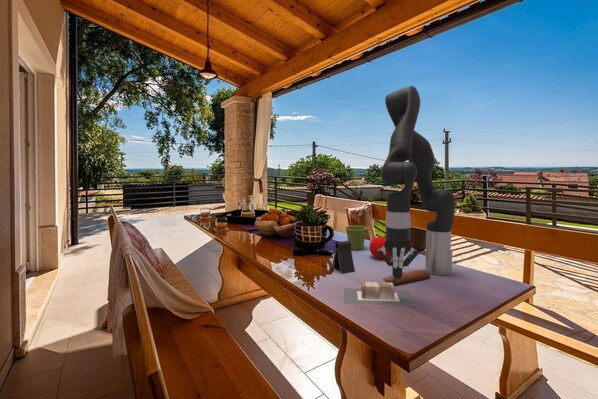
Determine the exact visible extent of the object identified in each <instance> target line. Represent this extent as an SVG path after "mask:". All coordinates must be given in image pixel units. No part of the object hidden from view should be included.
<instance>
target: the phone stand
mask: <svg viewBox="0 0 598 399" xmlns="http://www.w3.org/2000/svg"><path fill="white" fill-rule="evenodd" d="M334 249H335V250H334V254H333V259H332V265H331V267H332V269H334V270H335V271H337V272H339V273H340V274H347V273H353V272H354V273H355V271H356V269H355V263H354V259H353V253H352V249H351V242H350V241H348V240H343V241H336V242H335V244H334Z"/></svg>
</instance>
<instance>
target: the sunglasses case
mask: <svg viewBox="0 0 598 399" xmlns="http://www.w3.org/2000/svg"><path fill="white" fill-rule="evenodd" d="M430 279H431V274H430V273H428V272H427V271H425V270H423V269H413V270H412V269H411V270H408V271H402V278H400V279H395V278H394V277H393V275H389V276H387V277H385V278H382V280H383V281H384V282H387V283H393V285H394V287H398V286H402V285H408V284H411V283H415V282H416V283H417V282H422V281H425V280H426V281H427V280H430Z"/></svg>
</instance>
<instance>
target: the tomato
mask: <svg viewBox="0 0 598 399" xmlns="http://www.w3.org/2000/svg"><path fill="white" fill-rule="evenodd" d="M385 240H386V235H384V236H375V237H374V238H372V239H371V240H370V242H369V249H368V250H369V252H370V253H371V255H372V256H373V257H374V258H378V259H381V260H383V258H382V257H381V256H380V255H379V253H378V251H377V250H378V249H381V248H382V247H383V246H384V243H385ZM385 252H386V254H385V255H386V257H387V258H388V259H389V260H390V259H392V258H391V256H390V254H389V253H388V252H387V250H385Z"/></svg>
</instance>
